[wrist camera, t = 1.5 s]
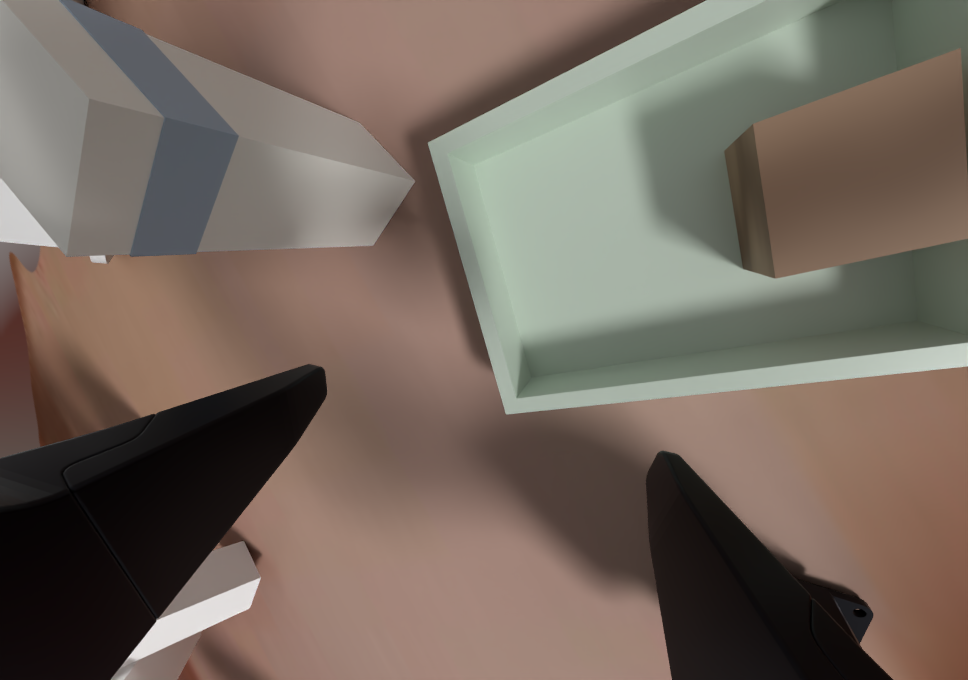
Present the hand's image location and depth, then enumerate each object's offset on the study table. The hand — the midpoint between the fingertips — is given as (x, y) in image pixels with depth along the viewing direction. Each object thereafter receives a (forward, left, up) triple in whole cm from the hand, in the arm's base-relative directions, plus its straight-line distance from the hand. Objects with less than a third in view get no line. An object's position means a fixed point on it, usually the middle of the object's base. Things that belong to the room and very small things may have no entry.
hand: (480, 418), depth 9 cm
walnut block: (+7, -9, -11) cm, 16 cm away
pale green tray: (+5, -4, -12) cm, 13 cm away
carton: (+7, +13, -12) cm, 19 cm away
